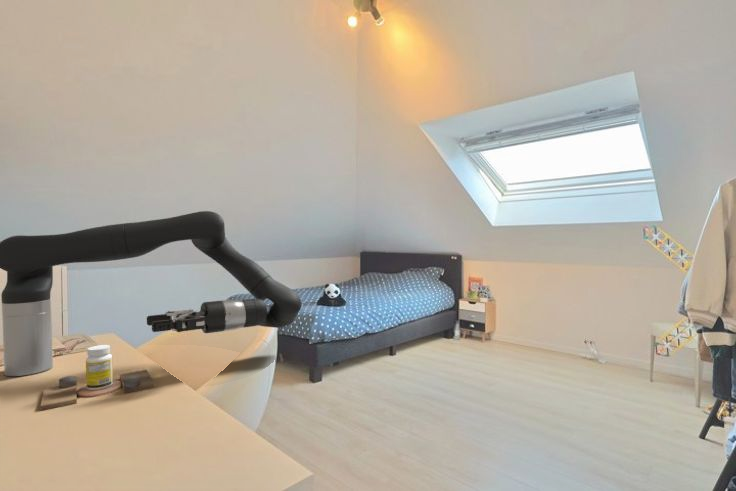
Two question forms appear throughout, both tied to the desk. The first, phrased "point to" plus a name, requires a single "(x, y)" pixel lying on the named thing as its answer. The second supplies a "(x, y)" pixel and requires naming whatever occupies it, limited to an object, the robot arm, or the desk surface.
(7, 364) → the robot arm
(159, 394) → the desk surface
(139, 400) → the desk surface
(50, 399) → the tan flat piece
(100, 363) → the supplement bottle
